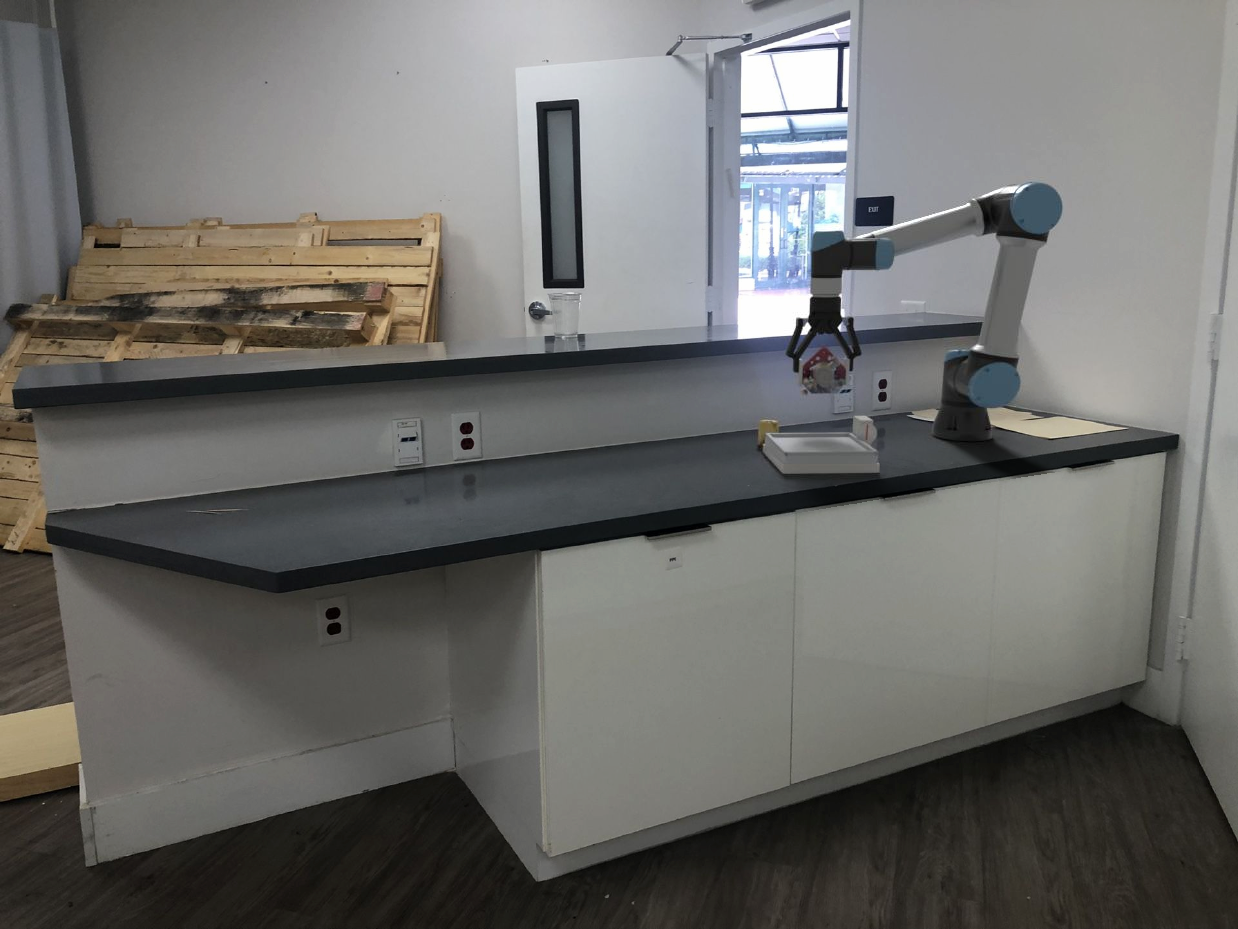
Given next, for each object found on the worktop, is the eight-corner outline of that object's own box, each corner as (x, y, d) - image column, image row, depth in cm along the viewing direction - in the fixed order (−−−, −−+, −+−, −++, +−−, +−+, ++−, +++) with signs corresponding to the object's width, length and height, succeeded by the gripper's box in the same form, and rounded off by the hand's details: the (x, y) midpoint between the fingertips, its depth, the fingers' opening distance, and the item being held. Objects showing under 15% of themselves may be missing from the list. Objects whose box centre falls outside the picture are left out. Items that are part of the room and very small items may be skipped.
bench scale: (866, 451, 239) (868, 415, 237) (896, 472, 218) (899, 433, 216) (762, 451, 238) (764, 415, 236) (782, 473, 216) (784, 434, 214)
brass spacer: (775, 442, 248) (776, 419, 247) (779, 447, 243) (780, 423, 242) (756, 443, 248) (757, 419, 247) (760, 447, 243) (761, 423, 242)
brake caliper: (843, 377, 246) (847, 343, 236) (845, 410, 239) (850, 376, 229) (797, 377, 247) (800, 343, 238) (798, 409, 240) (801, 376, 231)
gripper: (868, 293, 239) (864, 381, 244) (774, 295, 238) (772, 383, 243) (877, 295, 232) (873, 386, 237) (781, 297, 230) (779, 388, 236)
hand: (822, 385), depth 240 cm, fingers closed on brake caliper, 11 cm apart
